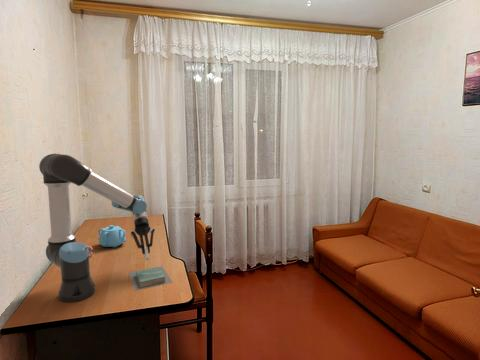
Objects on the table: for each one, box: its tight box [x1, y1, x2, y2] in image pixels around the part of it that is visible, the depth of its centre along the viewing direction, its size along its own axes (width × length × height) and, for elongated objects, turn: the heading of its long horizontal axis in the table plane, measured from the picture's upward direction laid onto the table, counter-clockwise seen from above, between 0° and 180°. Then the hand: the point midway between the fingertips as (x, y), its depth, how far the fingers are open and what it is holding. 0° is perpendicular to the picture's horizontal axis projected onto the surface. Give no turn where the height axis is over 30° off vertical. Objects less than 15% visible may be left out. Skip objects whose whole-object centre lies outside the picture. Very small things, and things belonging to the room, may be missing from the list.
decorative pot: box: [97, 224, 127, 248], centre depth 211 cm, size 16×16×14 cm
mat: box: [128, 265, 173, 291], centre depth 162 cm, size 22×18×1 cm
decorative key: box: [87, 245, 94, 258], centre depth 190 cm, size 7×1×20 cm
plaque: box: [136, 266, 165, 287], centre depth 161 cm, size 2×12×14 cm
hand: (147, 258), depth 164 cm, fingers closed
